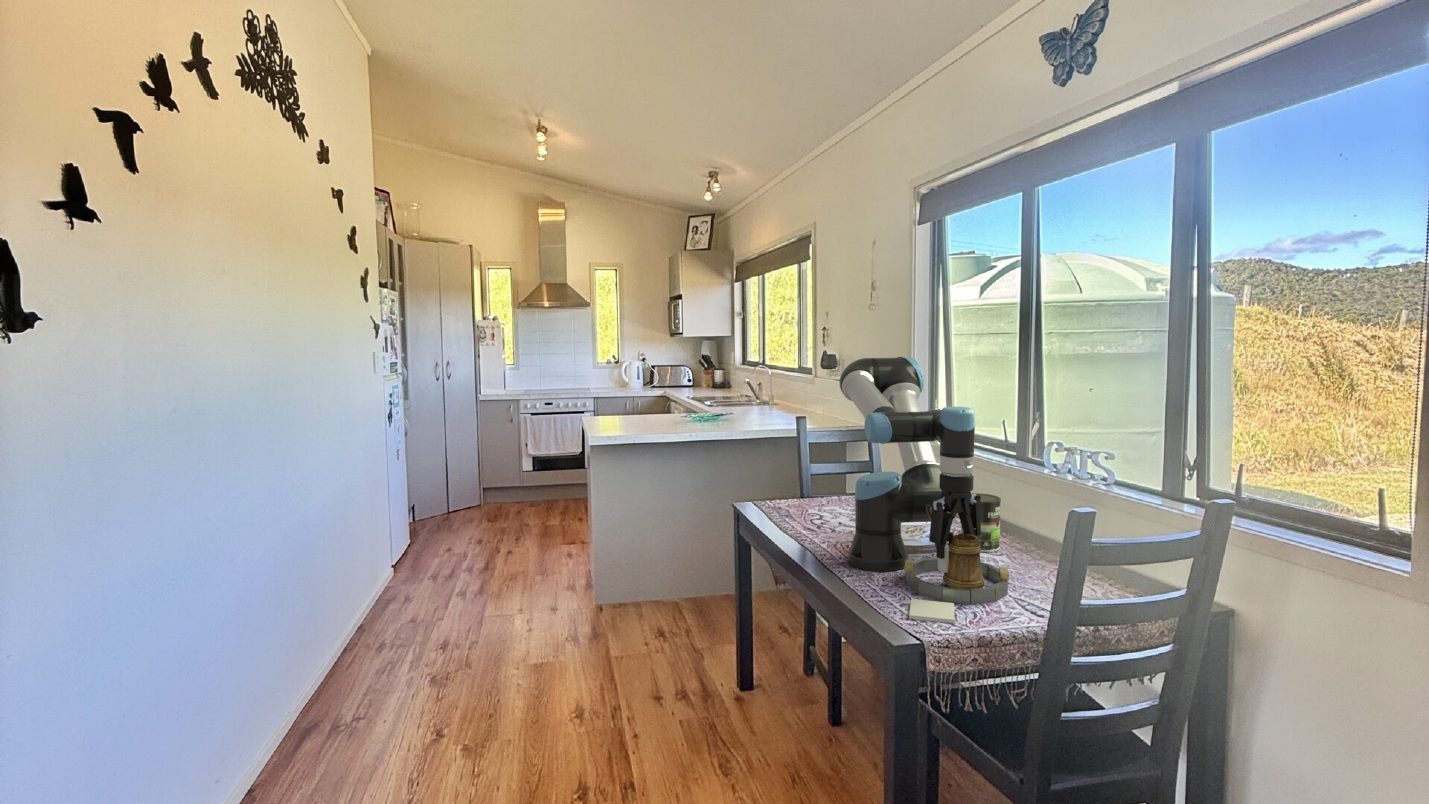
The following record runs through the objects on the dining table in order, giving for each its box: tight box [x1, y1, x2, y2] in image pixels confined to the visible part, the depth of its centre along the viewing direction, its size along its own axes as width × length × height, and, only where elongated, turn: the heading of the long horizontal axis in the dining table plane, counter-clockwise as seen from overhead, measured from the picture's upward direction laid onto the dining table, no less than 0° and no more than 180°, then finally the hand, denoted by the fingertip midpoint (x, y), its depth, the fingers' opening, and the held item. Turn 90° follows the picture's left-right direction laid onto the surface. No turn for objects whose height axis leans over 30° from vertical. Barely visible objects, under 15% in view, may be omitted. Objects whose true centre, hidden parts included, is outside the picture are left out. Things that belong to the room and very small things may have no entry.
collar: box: [904, 556, 1010, 605], centre depth 160 cm, size 23×22×5 cm
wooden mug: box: [926, 504, 986, 589], centre depth 159 cm, size 9×14×18 cm, turn 56°
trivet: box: [908, 598, 956, 624], centre depth 145 cm, size 9×9×1 cm
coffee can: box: [960, 492, 1002, 553], centre depth 188 cm, size 10×10×14 cm
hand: (954, 568), depth 161 cm, fingers closed on wooden mug, 7 cm apart
